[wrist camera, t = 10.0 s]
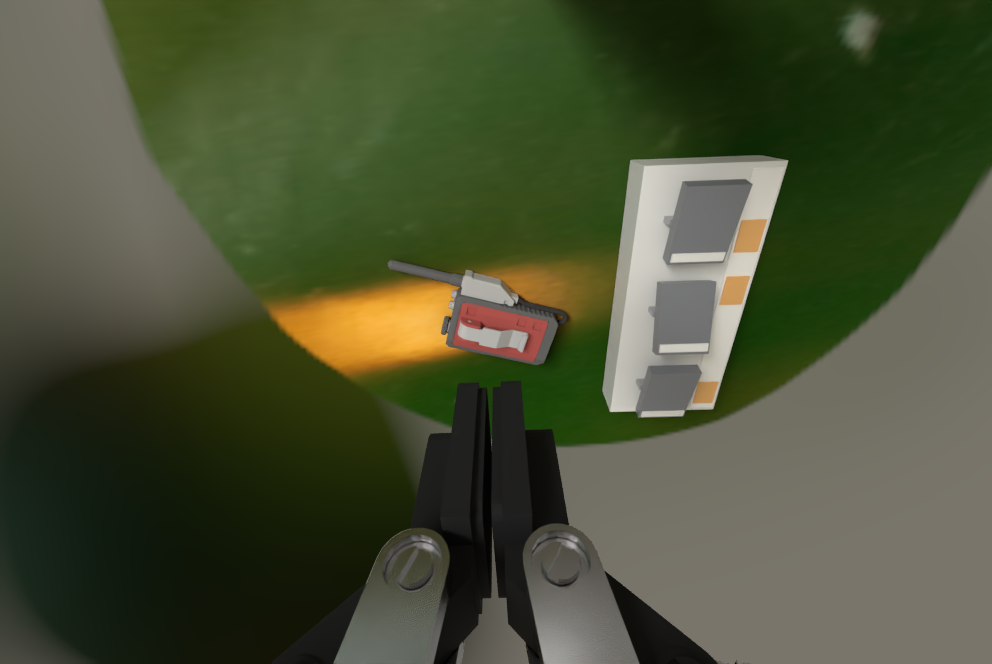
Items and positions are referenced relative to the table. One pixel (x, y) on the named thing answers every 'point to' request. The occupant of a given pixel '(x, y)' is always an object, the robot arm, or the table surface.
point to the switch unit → (681, 270)
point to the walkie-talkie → (492, 317)
